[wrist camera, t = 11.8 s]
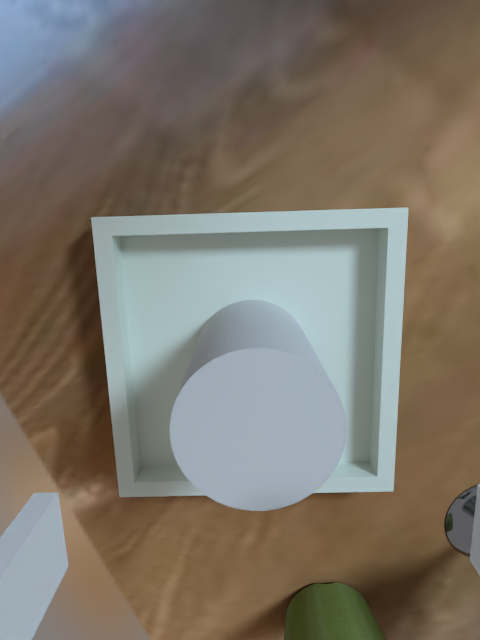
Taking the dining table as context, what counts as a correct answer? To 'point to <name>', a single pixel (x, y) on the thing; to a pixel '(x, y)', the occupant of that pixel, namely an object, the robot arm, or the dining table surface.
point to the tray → (251, 284)
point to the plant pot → (330, 615)
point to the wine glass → (461, 520)
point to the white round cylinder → (256, 411)
